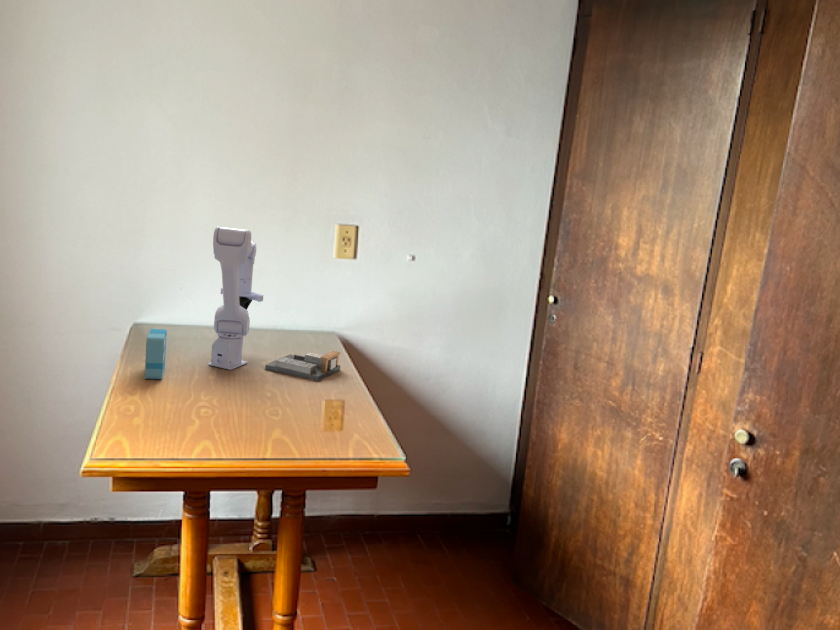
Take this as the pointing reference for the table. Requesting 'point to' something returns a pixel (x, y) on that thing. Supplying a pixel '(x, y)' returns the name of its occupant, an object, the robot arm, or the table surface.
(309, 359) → the bar
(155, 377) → the data package
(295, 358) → the base
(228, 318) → the robot arm
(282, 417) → the table surface
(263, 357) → the table surface
